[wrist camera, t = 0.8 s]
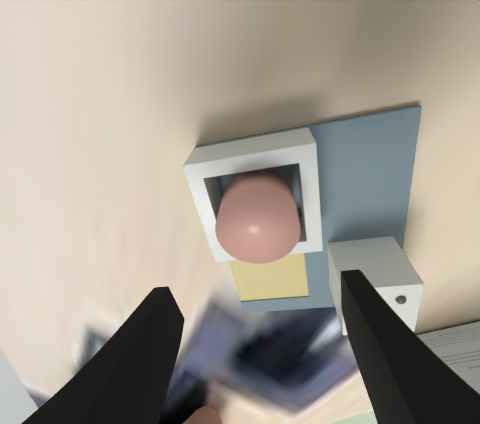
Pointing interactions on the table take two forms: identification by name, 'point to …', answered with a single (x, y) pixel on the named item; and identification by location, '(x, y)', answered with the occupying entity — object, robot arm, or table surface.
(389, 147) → the board
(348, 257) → the die
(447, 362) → the supplement box
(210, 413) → the medical training model
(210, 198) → the collar
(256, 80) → the table surface
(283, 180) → the button
